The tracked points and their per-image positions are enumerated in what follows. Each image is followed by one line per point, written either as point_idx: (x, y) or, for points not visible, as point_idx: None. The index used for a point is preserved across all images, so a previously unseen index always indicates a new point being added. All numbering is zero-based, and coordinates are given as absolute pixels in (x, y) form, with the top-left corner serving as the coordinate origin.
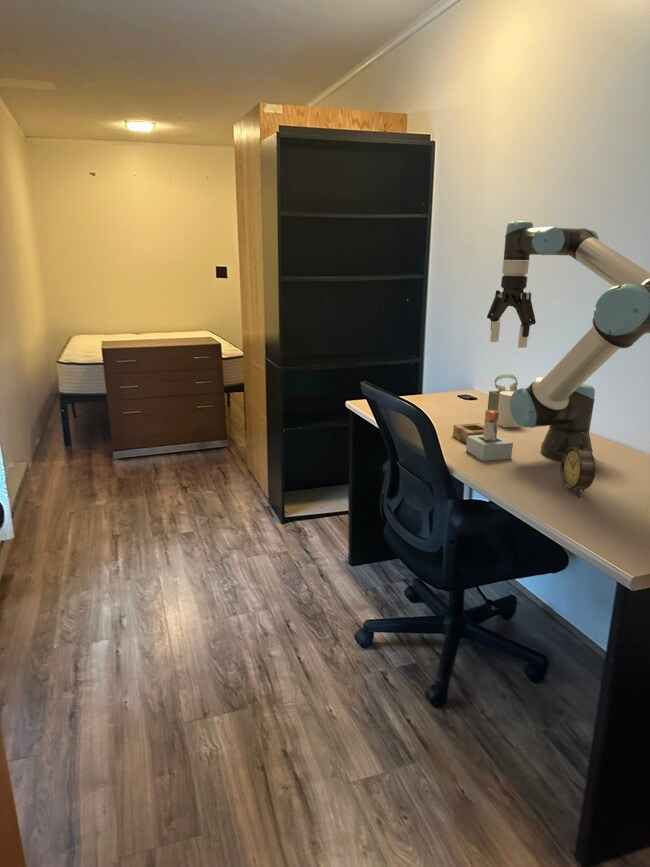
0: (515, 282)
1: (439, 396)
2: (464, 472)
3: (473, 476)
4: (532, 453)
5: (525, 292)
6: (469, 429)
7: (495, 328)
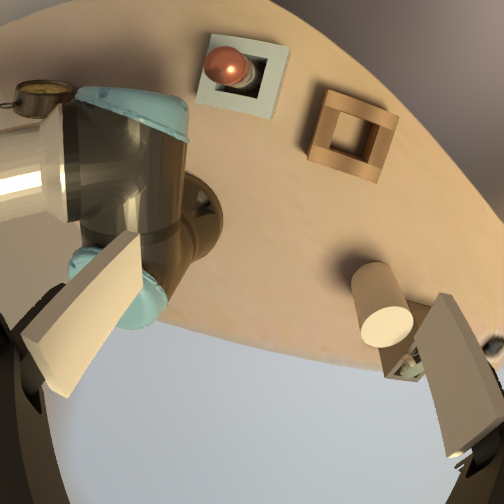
0: None
1: None
2: None
3: None
4: (210, 166)
5: None
6: (371, 142)
7: (460, 386)
